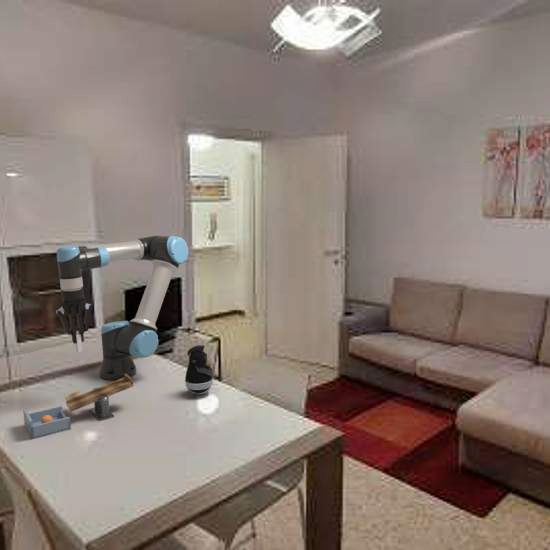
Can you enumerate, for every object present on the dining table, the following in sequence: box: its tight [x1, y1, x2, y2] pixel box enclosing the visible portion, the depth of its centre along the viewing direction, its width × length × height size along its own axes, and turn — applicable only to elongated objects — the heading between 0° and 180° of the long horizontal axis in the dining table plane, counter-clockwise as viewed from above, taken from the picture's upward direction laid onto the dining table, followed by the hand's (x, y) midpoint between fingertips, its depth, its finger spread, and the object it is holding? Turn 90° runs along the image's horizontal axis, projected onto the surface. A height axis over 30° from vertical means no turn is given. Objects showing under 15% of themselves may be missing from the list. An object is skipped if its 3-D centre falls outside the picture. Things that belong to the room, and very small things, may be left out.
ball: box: [41, 415, 53, 424], centre depth 165 cm, size 4×4×4 cm
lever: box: [64, 374, 134, 413], centre depth 178 cm, size 22×13×3 cm, turn 126°
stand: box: [89, 387, 115, 422], centre depth 175 cm, size 5×11×8 cm, turn 36°
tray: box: [22, 405, 72, 440], centre depth 165 cm, size 12×12×6 cm
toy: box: [184, 344, 214, 395], centre depth 191 cm, size 11×11×20 cm
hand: (79, 350), depth 184 cm, fingers closed
